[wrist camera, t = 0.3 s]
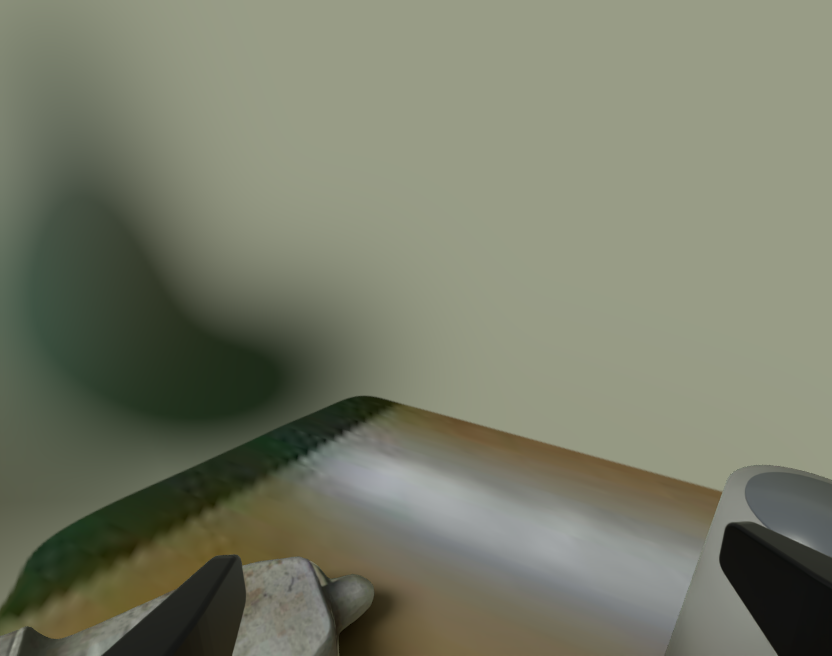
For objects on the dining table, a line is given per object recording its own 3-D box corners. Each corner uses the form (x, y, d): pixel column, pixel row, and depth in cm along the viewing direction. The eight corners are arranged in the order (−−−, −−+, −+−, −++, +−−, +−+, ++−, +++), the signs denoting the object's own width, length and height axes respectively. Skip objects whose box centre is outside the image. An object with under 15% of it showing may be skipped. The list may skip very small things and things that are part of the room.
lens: (850, 797, 15) (1023, 586, 11) (726, 830, 15) (856, 618, 10) (722, 636, 21) (803, 449, 16) (626, 654, 20) (683, 464, 16)
